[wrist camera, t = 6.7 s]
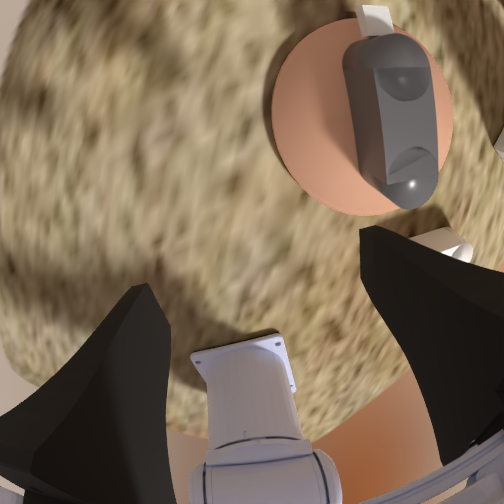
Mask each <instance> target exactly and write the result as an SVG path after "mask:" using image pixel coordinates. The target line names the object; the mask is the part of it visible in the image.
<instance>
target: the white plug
mask: <svg viewBox="0 0 504 504" xmlns="http://www.w3.org/2000/svg"><path fill="white" fill-rule="evenodd" d="M408 239H410V240H413V241H415V242H417V243H419V244H422V245H424V246H426V247H429V248H431V249H433V250H436V251H438V252H441V253H443V254H446V255H448V256H451V257H453V258H456V259H459V260H462V261H465V262H468V263H469V262H470V260H471V258H472V255H473V247H472V245H471V244H470V243H468V242H467V241H466V240H465V239H464V238H462V237H461V236H460V235H459V234H458V233H456V232H455V231H454V230H453V229H451V228H450V227H443V228H440V229H436V230H433V231H430V232H427V233H424V234H421V235H417V236H414V237H411V238H408Z"/></svg>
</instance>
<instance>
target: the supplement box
mask: <svg viewBox="0 0 504 504" xmlns="http://www.w3.org/2000/svg"><path fill="white" fill-rule="evenodd" d="M494 148H495V150H496V151H497V153H498V155H499V156H500V157H501V159H502V161H503V162H504V128H503V130H502V132H501V134H500V136H499V138H498V140H497V141H496V143H495V145H494Z"/></svg>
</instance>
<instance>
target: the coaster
mask: <svg viewBox="0 0 504 504" xmlns="http://www.w3.org/2000/svg"><path fill="white" fill-rule="evenodd" d="M393 29H394V33H399V34H404V35H406V36H409V37H410V38H412V39H413V40H415V41H416V42H417V43H418V44H419V45H420V46H421V47H422V49H423V50H424V52H425V53H426V55H427V57H428V60H429V63H430V68H431V75H432V82H433V89H434V98H435V107H436V119H437V134H438V165H439V171H440V169H441V167H442V166H443V163H444V161H445V159H446V156H447V153H448V150H449V147H450V143H451V138H452V131H453V108H452V101H451V96H450V92H449V88H448V86H447V83H446V80H445V77H444V75H443V73H442V71H441V69H440V67H439V66H438V64H437V63H436V61H435V60H434V58H433V57H432V55H431V54H430V53H429V52H428V51H427V49H426V48H425V47H424V46H423V45H422V44H421V43H420V42H418V41H417V40H416V39H415V38H414V37H412V36H411V35H410V34H408V33H407V32H405V31H403V30H402V29H400V28H398V27H396V26H394V25H393ZM369 38H372V37H369ZM363 39H368V38H362V35H361V31H360V27H359V23H358V19H357V18H350V19H343V20H339V21H335V22H332V23H329V24H327V25H325V26H322V27H320V28H318V29H316V30H315V31H313V32H312V33H310V34H308V35H307V36H306V37H305V38H303V39H302V40H301V41H300V42H299V43H298V44H297V45H296V46H295V47H294V48H293V50H292V51H291V52H290V53H289V54H288V56H287V58H286V59H285V61H284V63H283V64H282V66H281V68H280V71H279V73H278V76H277V78H276V81H275V85H274V89H273V93H272V102H271V123H272V129H273V135H274V139H275V142H276V146H277V149H278V151H279V154H280V156H281V158H282V160H283V162H284V164H285V166H286V167H287V169H288V171H289V172H290V174H291V175H292V176H293V177H294V179H295V180H296V181H297V182H298V184H299V185H300V186H301V187H302V188H303V189H304V190H305V191H306V192H307V193H308V194H309V195H310V196H312V197H313V198H314V199H316V200H317V201H318V202H320V203H321V204H323V205H325V206H327V207H329V208H331V209H333V210H336V211H339V212H342V213H346V214H351V215H359V216H371V215H379V214H384V213H388V212H391V211H394V210H396V209H399V208H400V207H398V206H397V205H395V204H394V203H393V202H392V201H390V200H389V199H388V198H386V197H385V196H384V195H383V194H381V193H380V192H379V191H377V190H376V189H375V188H373V187H372V186H371V185H369V184H368V183H367V182H366V181H365V180H364V179H363V178H362V176H361V174H360V171H359V167H358V159H357V151H356V143H355V136H354V129H353V123H352V116H351V110H350V104H349V99H348V93H347V88H346V83H345V78H344V73H343V68H342V60H343V55H344V53H345V51H346V49H347V48H348V47H349V46H350V45H351V44H352V43H354V42H356V41H359V40H363Z"/></svg>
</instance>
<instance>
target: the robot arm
mask: <svg viewBox="0 0 504 504" xmlns="http://www.w3.org/2000/svg"><path fill="white" fill-rule="evenodd" d="M359 235H360V278H361V280H362V283H363V285H364V287H365V289H366V291H367V293H368V295H369V297H370V299H371V301H372V303H373V304H374V306H375V308H376V309H377V311H378V312H379V314H380V315H381V317H382V318H383V320H384V322H385V323H386V325H387V326H388V328H389V329H390V331H391V332H392V334H393V336H394V337H395V339H396V340H397V342H398V344H399V345H400V347H401V348H402V350H403V352H404V354H405V356H406V358H407V360H408V362H409V364H410V366H411V369H412V371H413V373H414V375H415V378H416V380H417V382H418V385H419V388H420V390H421V393H422V396H423V398H424V401H425V404H426V407H427V409H428V413H429V416H430V419H431V422H432V425H433V429H434V433H435V437H436V441H437V446H438V450H439V454H440V460H441V462H442V464H443V467H442V468H440V469H438V470H436V471H434V472H432V473H430V474H428V475H426V476H424V477H422V478H420V479H418V480H416V481H414V482H412V483H410V484H407V485H405V486H403V487H400V488H398V489H395V490H393V491H391V492H388V493H386V494H383V495H380V496H378V497H375V498H372V499H370V500H367V501H364V502H361V503H358V504H420V503H422V502H425V501H427V500H429V499H431V498H432V497H435V496H436V495H438V494H440V493H442V492H444V491H446V490H448V489H449V488H451V487H453V486H455V485H456V484H458V483H460V482H461V481H463V480H465V479H466V478H468V477H469V479H468V480H467V484H466V487H465V488H464V489H463V490H461V491H460V492H458V493H456V494H454V495H453V496H451V497H449V498H447V499H445V500H444V501H442V502H440V503H438V504H504V273H503V272H499V271H495V270H491V269H487V268H484V267H480V266H477V265H474V264H471V263H468V262H465V261H462V260H459V259H456V258H453V257H451V256H448V255H446V254H443V253H441V252H438V251H436V250H433V249H431V248H429V247H426V246H424V245H422V244H419V243H417V242H415V241H413V240H410V239H408V238H406V237H404V236H401V235H399V234H397V233H395V232H392V231H390V230H387V229H385V228H382V227H379V226H376V225H374V226H371V227H367V228H363V229H359ZM277 342H279V343H277ZM170 357H171V331H170V324H169V323H168V321H167V319H166V317H165V315H164V313H163V311H162V309H161V308H160V306H159V304H158V302H157V300H156V298H155V296H154V294H153V292H152V290H151V288H150V286H149V284H148V283H145V284H141V285H137V286H132V287H131V288H130V289H129V290H128V291H127V292H126V293H125V295H124V296H123V297H122V298H121V299H120V300H119V302H118V303H117V304H116V305H115V306H114V308H113V309H112V310H111V311H110V313H109V314H108V315H107V316H106V318H105V319H104V320H103V321H102V323H101V324H100V325H99V326H98V328H97V329H96V330H95V331H94V332H93V333H92V335H91V336H90V337H89V338H88V339H87V341H86V342H85V343H84V344H83V345H82V347H81V348H80V349H79V350H78V351H77V352H76V353H75V354H74V356H73V357H72V358H71V359H70V360H69V361H68V362H67V363H66V364H65V365H64V366H63V367H62V368H61V369H60V370H59V371H58V372H57V373H56V374H55V375H54V376H52V377H51V378H50V379H49V380H48V381H47V382H46V383H45V384H44V385H42V386H41V387H40V388H39V389H38V390H37V391H36V392H35V393H33V394H32V395H31V396H29V397H28V398H27V399H26V400H24V401H23V402H21V403H20V404H19V405H17V406H16V407H15V408H13V409H12V410H10V411H9V412H7V413H6V414H4V415H2V416H0V475H1V476H2V477H4V478H5V479H7V480H9V481H10V482H12V483H14V484H15V485H17V486H19V487H21V488H23V489H24V490H25V493H24V496H22V495H20V494H18V493H15V492H13V491H11V490H8V489H5V488H3V487H1V486H0V504H177V503H176V498H175V494H174V489H173V484H172V478H171V472H170V466H169V458H168V448H167V436H166V398H167V387H168V377H169V367H170ZM190 359H191V361H192V363H193V364H194V366H195V367H196V369H197V370H198V372H199V373H200V375H201V377H202V378H203V380H204V381H205V383H206V384H207V404H208V430H209V450H207V451H205V454H206V462H198V463H197V464H196V466H195V467H194V468H193V469H192V470H191V472H190V475H189V504H342V490H341V483H340V479H339V475H338V472H337V469H336V466H335V464H334V462H333V460H332V459H331V457H330V456H329V455H327V454H326V453H324V452H323V451H322V450H320V449H315V450H312V446H311V442H310V440H309V439H307V440H304V439H303V435H302V431H301V427H300V423H299V419H298V415H297V411H296V407H295V403H294V398H293V394H292V393H294V392H295V391H296V387H295V383H294V379H293V375H292V371H291V367H290V364H289V360H288V356H287V352H286V348H285V344H284V341H283V337H282V335H281V334H279V333H276V334H272V335H268V336H264V337H260V338H256V339H252V340H248V341H244V342H239V343H235V344H231V345H227V346H222V347H218V348H213V349H208V350H204V351H199V352H194V353H192V354H191V355H190Z"/></svg>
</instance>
